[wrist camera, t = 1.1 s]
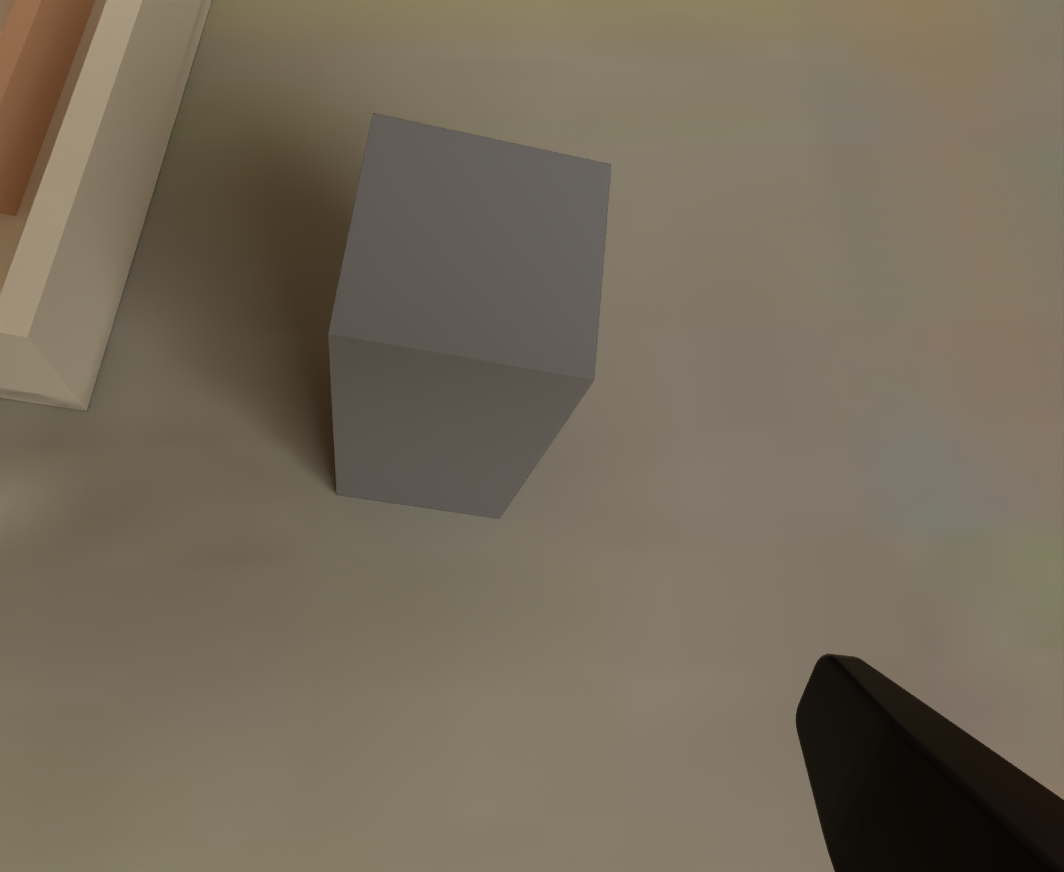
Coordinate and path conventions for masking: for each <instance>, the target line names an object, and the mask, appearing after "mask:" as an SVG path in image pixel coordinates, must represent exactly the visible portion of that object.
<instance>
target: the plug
mask: <svg viewBox="0 0 1064 872" xmlns="http://www.w3.org/2000/svg"><path fill="white" fill-rule="evenodd" d="M610 175H611V164H608V163H603V162H598V161H594V160H589V159H585V158H580V157H575V156H571V155H566V154H561V153H557V152H552V151H547V150H543V149H538V148H534V147H529V146H524V145H520V144H515V143H510V142H506V141H501V140H496V139H492V138H487V137H483V136H478V135H473V134H469V133H464V132H459V131H455V130H450V129H445V128H441V127H436V126H432V125H427V124H422V123H418V122H413V121H408V120H404V119H399V118H394V117H390V116H385V115H381V114H376V113H373V115H372V120H371V125H370V130H369V135H368V139H367V144H366V149H365V154H364V159H363V164H362V169H361V174H360V179H359V184H358V189H357V194H356V198H355V203H354V208H353V213H352V218H351V223H350V228H349V233H348V238H347V243H346V248H345V252H344V257H343V262H342V267H341V272H340V277H339V282H338V287H337V292H336V297H335V302H334V307H333V311H332V316H331V321H330V326H329V331H328V342H329V361H330V379H331V398H332V417H333V435H334V454H335V472H336V491H337V495H341V496H348V497H355V498H362V499H368V500H375V501H382V502H389V503H396V504H402V505H409V506H416V507H423V508H430V509H436V510H443V511H450V512H457V513H464V514H470V515H477V516H484V517H491V518H498V519H500V517H501V516H502V514H503V513H504V511H505V510H506V509H507V507H508V506H509V504H510V503H511V501H512V500H513V498H514V497H515V495H516V494H517V492H518V491H519V490H520V488H521V487H522V485H523V484H524V482H525V481H526V479H527V478H528V476H529V475H530V473H531V472H532V470H533V469H534V468H535V466H536V465H537V463H538V462H539V460H540V459H541V457H542V456H543V454H544V453H545V451H546V450H547V449H548V447H549V446H550V444H551V443H552V441H553V440H554V438H555V437H556V435H557V434H558V432H559V431H560V430H561V428H562V427H563V425H564V424H565V422H566V421H567V419H568V418H569V416H570V415H571V413H572V412H573V410H574V409H575V408H576V406H577V405H578V403H579V402H580V400H581V399H582V397H583V396H584V394H585V393H586V391H587V390H588V389H589V387H590V386H591V384H592V383H593V381H594V377H595V364H596V352H597V339H598V326H599V314H600V301H601V288H602V276H603V263H604V251H605V238H606V225H607V213H608V200H609V187H610Z"/></svg>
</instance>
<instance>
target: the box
mask: <svg viewBox="0 0 1064 872" xmlns="http://www.w3.org/2000/svg"><path fill="white" fill-rule="evenodd" d="M211 1H212V0H0V398H4V399H11V400H17V401H24V402H30V403H37V404H43V405H50V406H56V407H63V408H69V409H75V410H82V411H87V409H88V406H89V402H90V399H91V396H92V392H93V389H94V386H95V383H96V379H97V376H98V373H99V369H100V366H101V363H102V359H103V356H104V353H105V350H106V346H107V343H108V340H109V336H110V333H111V330H112V327H113V323H114V320H115V317H116V313H117V310H118V307H119V304H120V300H121V297H122V294H123V290H124V287H125V284H126V281H127V277H128V274H129V271H130V267H131V264H132V261H133V258H134V254H135V251H136V248H137V244H138V241H139V238H140V234H141V231H142V228H143V225H144V221H145V218H146V215H147V211H148V208H149V205H150V202H151V198H152V195H153V192H154V188H155V185H156V182H157V179H158V175H159V172H160V169H161V165H162V162H163V159H164V156H165V152H166V149H167V146H168V142H169V139H170V136H171V133H172V129H173V126H174V123H175V119H176V116H177V113H178V109H179V106H180V103H181V100H182V96H183V93H184V90H185V86H186V83H187V80H188V77H189V73H190V70H191V67H192V63H193V60H194V57H195V54H196V50H197V47H198V44H199V40H200V37H201V34H202V31H203V27H204V24H205V21H206V17H207V14H208V11H209V8H210V4H211Z"/></svg>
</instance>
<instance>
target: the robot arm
mask: <svg viewBox="0 0 1064 872" xmlns="http://www.w3.org/2000/svg"><path fill="white" fill-rule="evenodd" d="M796 728H797V733H798V737H799V741H800V745H801V749H802V753H803V757H804V761H805V765H806V768H807V772H808V776H809V780H810V784H811V788H812V792H813V796H814V800H815V804H816V808H817V812H818V816H819V820H820V824H821V828H822V832H823V835H824V839H825V842H826V846H827V849H828V853H829V856H830V859H831V862H832V865H833V868H834V871H835V872H1064V800H1063V799H1062V798H1060V797H1059V796H1057V795H1056V794H1054V793H1053V792H1052V791H1050V790H1049V789H1047V788H1046V787H1044V786H1043V785H1041V784H1040V783H1039V782H1037V781H1036V780H1034V779H1033V778H1031V777H1030V776H1028V775H1027V774H1026V773H1024V772H1023V771H1021V770H1020V769H1018V768H1017V767H1016V766H1014V765H1013V764H1011V763H1010V762H1008V761H1007V760H1005V759H1004V758H1003V757H1001V756H1000V755H998V754H997V753H995V752H994V751H992V750H991V749H990V748H988V747H987V746H985V745H984V744H982V743H981V742H979V741H978V740H977V739H975V738H974V737H972V736H971V735H969V734H968V733H967V732H965V731H964V730H962V729H961V728H959V727H958V726H956V725H955V724H954V723H952V722H951V721H949V720H948V719H946V718H945V717H943V716H942V715H941V714H939V713H938V712H936V711H935V710H933V709H932V708H930V707H929V706H928V705H926V704H925V703H923V702H922V701H920V700H919V699H918V698H916V697H915V696H913V695H912V694H910V693H909V692H907V691H906V690H905V689H903V688H902V687H900V686H899V685H897V684H896V683H894V682H893V681H892V680H890V679H889V678H887V677H886V676H884V675H883V674H882V673H880V672H879V671H877V670H876V669H874V668H873V667H871V666H870V665H869V664H867V663H866V662H864V661H863V660H861V659H859V658H857V657H853V656H844V655H835V654H826V655H823V656H822V657H820V658H819V660H818V661H817V663H816V665H815V667H814V669H813V671H812V674H811V676H810V679H809V681H808V683H807V686H806V688H805V690H804V693H803V695H802V697H801V700H800V702H799V705H798V708H797V712H796Z"/></svg>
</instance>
